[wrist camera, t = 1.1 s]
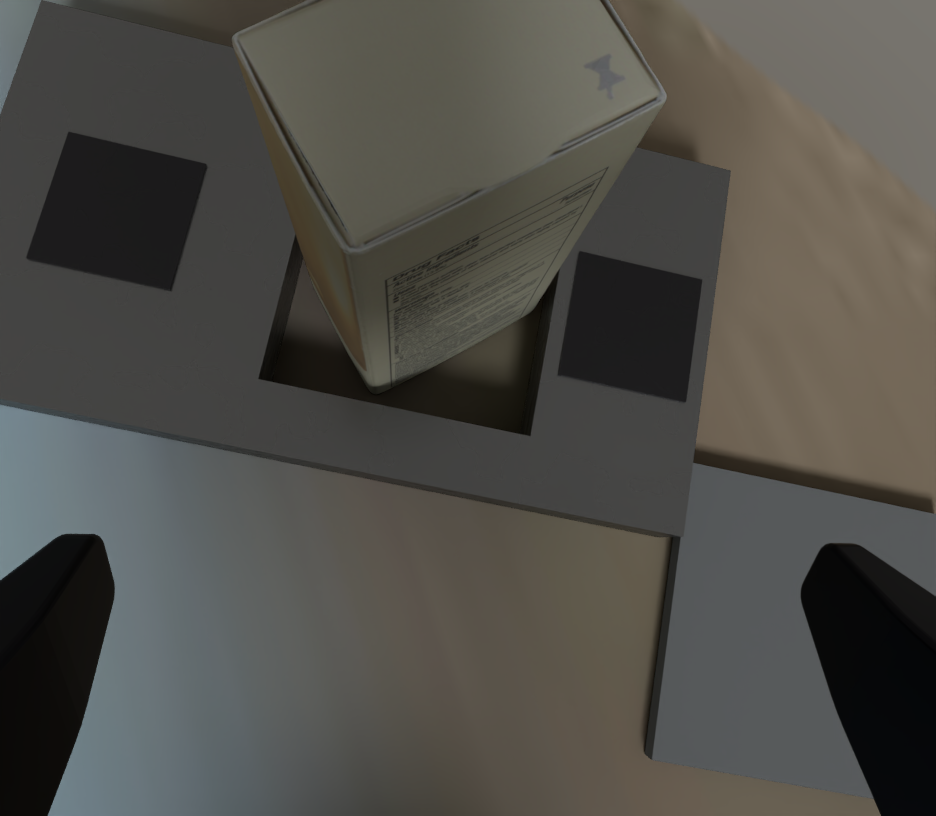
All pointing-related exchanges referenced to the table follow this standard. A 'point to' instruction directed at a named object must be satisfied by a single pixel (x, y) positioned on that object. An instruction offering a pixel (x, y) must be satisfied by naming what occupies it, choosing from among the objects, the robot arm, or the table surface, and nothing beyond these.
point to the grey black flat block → (274, 280)
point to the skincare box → (442, 157)
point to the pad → (763, 628)
